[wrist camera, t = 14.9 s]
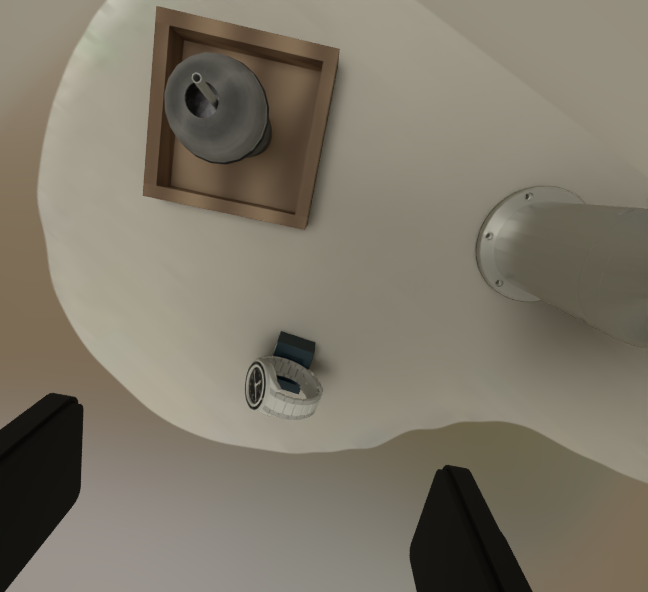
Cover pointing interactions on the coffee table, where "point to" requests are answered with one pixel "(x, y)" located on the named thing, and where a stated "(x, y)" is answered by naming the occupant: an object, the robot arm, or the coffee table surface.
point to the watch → (284, 380)
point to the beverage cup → (218, 108)
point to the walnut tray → (284, 114)
